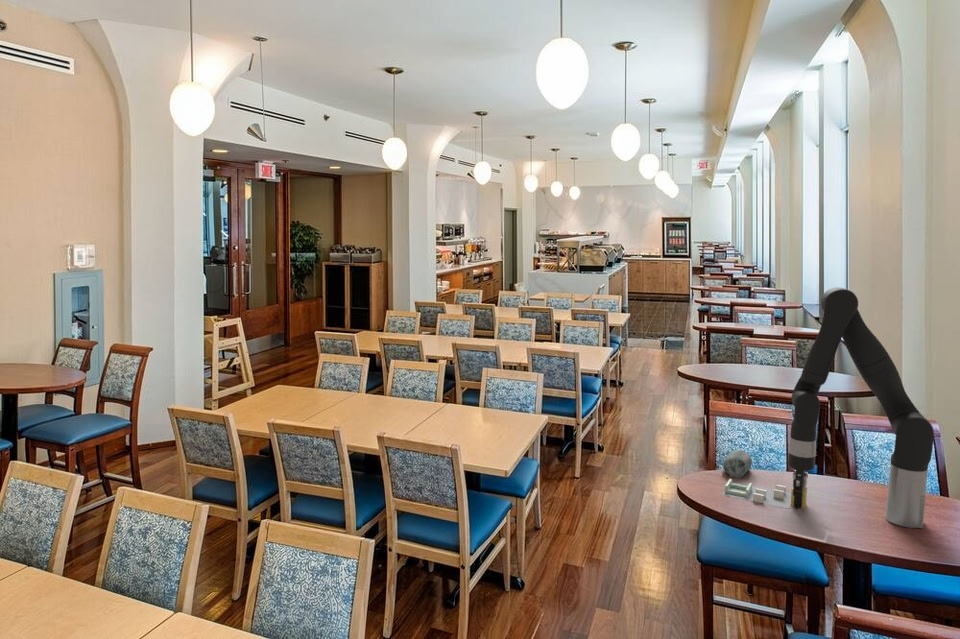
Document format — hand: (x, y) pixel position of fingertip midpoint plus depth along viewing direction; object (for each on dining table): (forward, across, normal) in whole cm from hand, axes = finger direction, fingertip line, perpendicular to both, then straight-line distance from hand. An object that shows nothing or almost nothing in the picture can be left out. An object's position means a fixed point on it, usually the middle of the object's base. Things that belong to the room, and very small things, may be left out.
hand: (798, 504), depth 201 cm
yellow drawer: (+1, 0, 0) cm, 1 cm away
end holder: (0, +1, +18) cm, 18 cm away
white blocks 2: (0, +5, +6) cm, 8 cm away
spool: (+1, +20, +22) cm, 30 cm away
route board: (+1, +2, +12) cm, 12 cm away
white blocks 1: (0, -2, +11) cm, 11 cm away
